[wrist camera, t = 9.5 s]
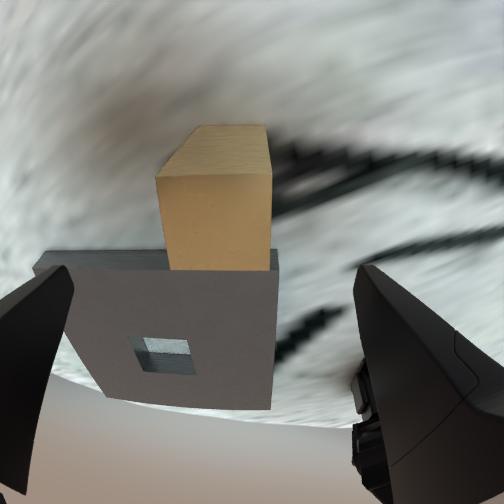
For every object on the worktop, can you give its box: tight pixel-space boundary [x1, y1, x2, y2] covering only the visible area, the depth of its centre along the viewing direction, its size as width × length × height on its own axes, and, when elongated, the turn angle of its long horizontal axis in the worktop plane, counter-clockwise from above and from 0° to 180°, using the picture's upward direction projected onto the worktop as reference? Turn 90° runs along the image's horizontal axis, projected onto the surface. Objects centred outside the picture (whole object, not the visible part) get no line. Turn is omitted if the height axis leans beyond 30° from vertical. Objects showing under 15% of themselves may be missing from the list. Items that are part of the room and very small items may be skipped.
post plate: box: [32, 249, 279, 410], centre depth 27 cm, size 20×20×2 cm
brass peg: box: [155, 125, 272, 271], centre depth 15 cm, size 4×4×9 cm
